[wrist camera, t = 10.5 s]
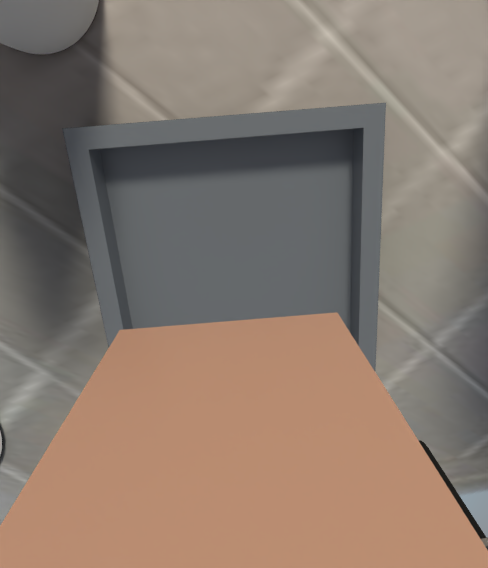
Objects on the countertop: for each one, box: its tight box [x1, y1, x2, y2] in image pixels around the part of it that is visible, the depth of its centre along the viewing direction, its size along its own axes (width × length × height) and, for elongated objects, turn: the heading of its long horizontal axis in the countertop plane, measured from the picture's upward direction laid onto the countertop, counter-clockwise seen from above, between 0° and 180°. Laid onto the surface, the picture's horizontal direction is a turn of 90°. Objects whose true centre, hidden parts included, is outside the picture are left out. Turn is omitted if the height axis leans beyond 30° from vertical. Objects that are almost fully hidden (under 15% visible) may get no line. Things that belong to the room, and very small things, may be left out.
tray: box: [63, 103, 386, 371], centre depth 27 cm, size 18×18×3 cm
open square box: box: [0, 312, 488, 568], centre depth 8 cm, size 6×6×8 cm
